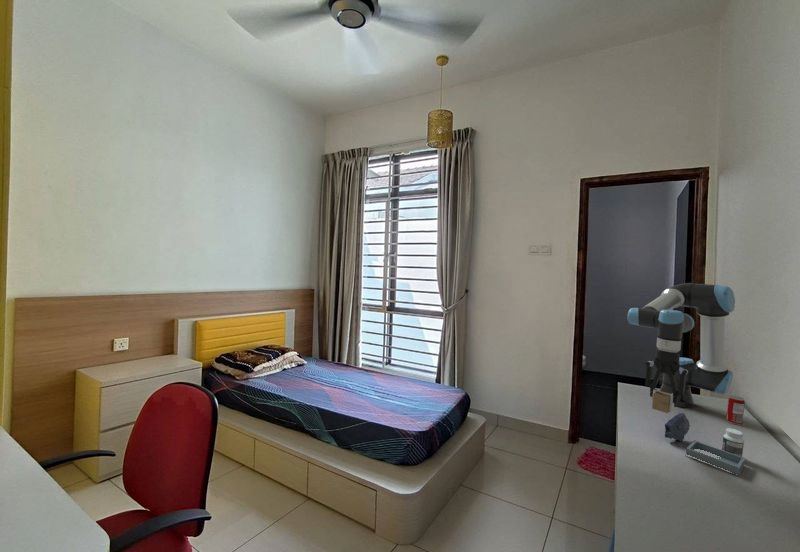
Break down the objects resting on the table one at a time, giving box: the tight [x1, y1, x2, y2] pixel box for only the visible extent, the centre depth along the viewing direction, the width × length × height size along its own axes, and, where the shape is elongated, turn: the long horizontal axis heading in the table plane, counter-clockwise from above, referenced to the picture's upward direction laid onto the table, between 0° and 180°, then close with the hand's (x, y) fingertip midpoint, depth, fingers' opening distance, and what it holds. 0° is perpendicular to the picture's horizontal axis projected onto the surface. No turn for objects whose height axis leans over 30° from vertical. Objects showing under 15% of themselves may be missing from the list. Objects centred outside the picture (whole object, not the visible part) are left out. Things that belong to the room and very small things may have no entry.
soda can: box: [726, 395, 746, 426], centre depth 165 cm, size 6×6×12 cm
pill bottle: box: [721, 427, 745, 457], centre depth 135 cm, size 6×6×10 cm
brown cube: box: [651, 390, 671, 414], centre depth 140 cm, size 6×5×6 cm
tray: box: [685, 440, 746, 476], centre depth 132 cm, size 11×15×3 cm
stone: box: [664, 412, 691, 442], centre depth 147 cm, size 14×6×10 cm, turn 129°
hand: (662, 407), depth 141 cm, fingers closed on brown cube, 5 cm apart
